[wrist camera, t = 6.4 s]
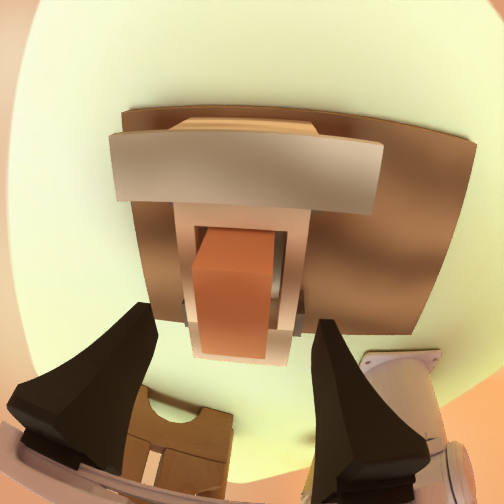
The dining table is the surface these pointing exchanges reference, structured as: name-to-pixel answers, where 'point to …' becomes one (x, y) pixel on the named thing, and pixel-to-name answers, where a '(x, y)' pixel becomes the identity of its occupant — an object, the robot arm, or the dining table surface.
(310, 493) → the ice cream cone
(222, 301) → the orange upright block
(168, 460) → the wooden toy
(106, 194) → the dining table surface
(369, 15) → the dining table surface
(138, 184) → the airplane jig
